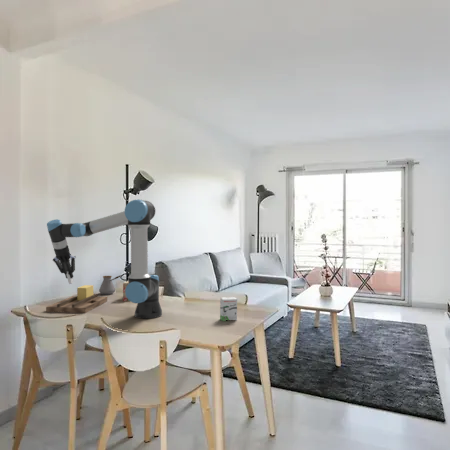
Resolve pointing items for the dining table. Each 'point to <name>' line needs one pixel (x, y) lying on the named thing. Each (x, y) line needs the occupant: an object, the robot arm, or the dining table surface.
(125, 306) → the dining table surface
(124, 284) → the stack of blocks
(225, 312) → the ink box
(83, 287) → the ochre block
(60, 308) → the trap board
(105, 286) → the coffee pot
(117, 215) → the robot arm
